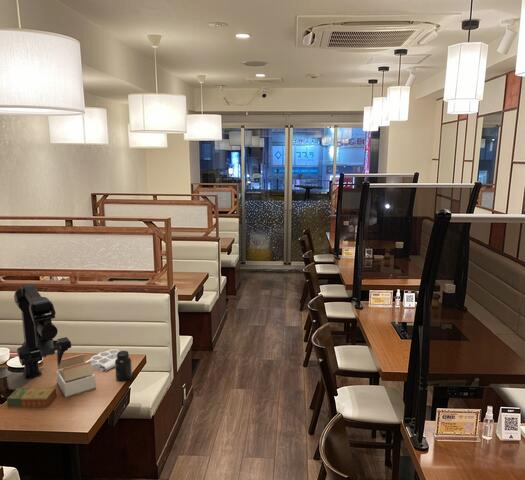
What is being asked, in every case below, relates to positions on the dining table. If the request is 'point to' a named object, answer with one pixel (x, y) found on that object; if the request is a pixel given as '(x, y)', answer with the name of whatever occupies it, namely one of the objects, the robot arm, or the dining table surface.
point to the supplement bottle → (123, 366)
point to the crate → (75, 384)
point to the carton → (31, 397)
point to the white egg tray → (104, 360)
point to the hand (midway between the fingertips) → (46, 367)
